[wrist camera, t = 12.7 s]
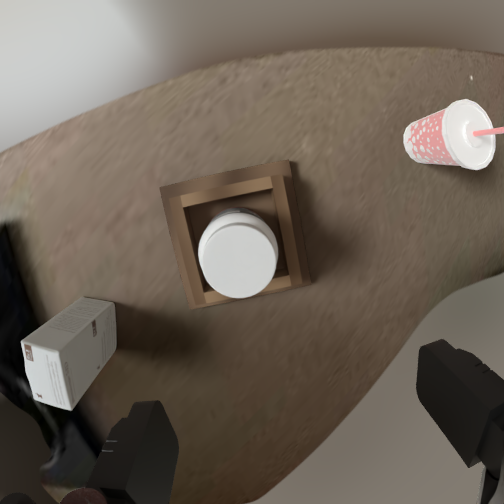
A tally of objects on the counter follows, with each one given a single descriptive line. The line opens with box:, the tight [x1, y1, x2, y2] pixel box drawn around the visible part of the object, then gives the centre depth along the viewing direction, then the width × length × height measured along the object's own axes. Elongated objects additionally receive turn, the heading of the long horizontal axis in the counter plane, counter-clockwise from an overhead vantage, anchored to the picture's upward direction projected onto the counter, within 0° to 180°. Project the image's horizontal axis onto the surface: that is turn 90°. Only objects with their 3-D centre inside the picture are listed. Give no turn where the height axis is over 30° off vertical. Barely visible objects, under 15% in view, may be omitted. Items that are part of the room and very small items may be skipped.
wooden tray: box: [160, 160, 311, 310], centre depth 29 cm, size 12×12×4 cm
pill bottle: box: [198, 207, 278, 298], centre depth 25 cm, size 6×6×10 cm
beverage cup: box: [404, 99, 504, 170], centre depth 22 cm, size 6×6×14 cm
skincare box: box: [21, 297, 117, 410], centre depth 26 cm, size 6×4×12 cm
